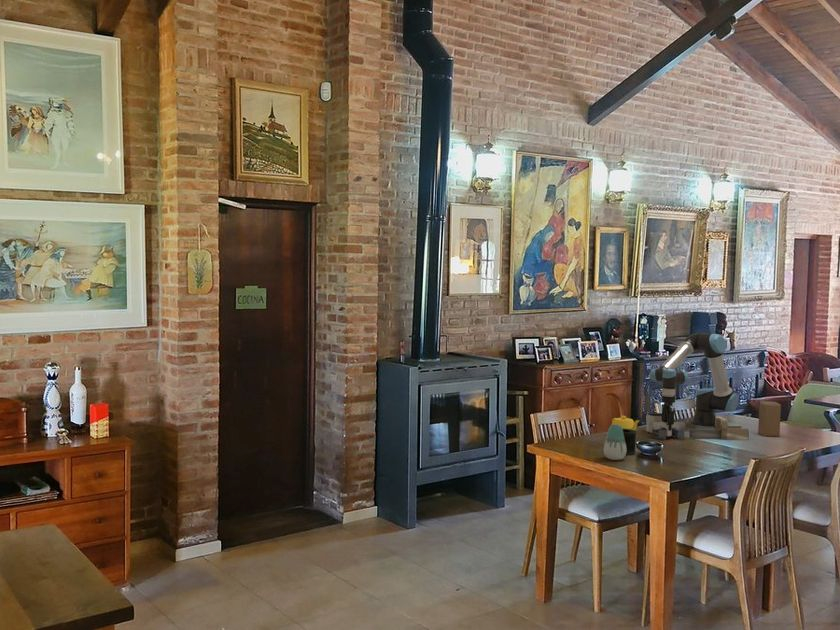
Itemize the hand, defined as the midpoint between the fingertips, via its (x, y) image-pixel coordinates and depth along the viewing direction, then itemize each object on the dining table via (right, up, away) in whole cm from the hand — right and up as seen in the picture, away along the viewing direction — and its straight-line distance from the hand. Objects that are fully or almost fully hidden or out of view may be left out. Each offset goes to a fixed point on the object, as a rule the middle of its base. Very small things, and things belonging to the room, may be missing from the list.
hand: (667, 434), depth 476 cm
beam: (+32, -3, +3) cm, 32 cm away
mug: (-37, -3, -42) cm, 56 cm away
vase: (-45, -4, -59) cm, 74 cm away
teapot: (-25, -2, -2) cm, 26 cm away
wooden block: (+67, -3, +17) cm, 69 cm away
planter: (-1, -1, +17) cm, 17 cm away
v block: (0, -2, 0) cm, 2 cm away
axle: (+1, +5, 0) cm, 5 cm away
